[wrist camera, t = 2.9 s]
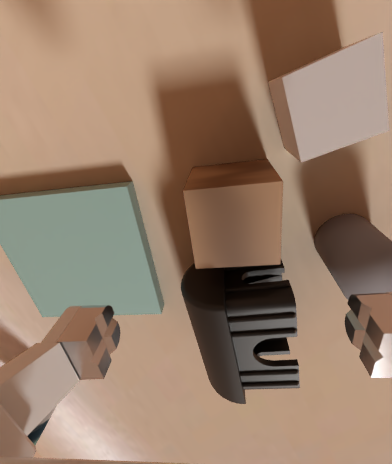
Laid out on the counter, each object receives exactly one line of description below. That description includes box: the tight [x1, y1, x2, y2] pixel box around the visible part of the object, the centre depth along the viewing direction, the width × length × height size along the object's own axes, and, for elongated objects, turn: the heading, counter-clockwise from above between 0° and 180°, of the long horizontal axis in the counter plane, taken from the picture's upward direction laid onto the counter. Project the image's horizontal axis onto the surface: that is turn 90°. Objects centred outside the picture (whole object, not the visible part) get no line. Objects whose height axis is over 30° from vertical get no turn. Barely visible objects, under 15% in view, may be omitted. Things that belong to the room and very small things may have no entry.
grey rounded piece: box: [314, 214, 392, 300], centre depth 17 cm, size 4×4×5 cm
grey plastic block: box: [268, 32, 389, 162], centre depth 13 cm, size 4×4×4 cm
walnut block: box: [183, 159, 283, 269], centre depth 16 cm, size 5×5×5 cm
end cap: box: [181, 260, 300, 404], centre depth 19 cm, size 10×7×7 cm
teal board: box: [0, 181, 164, 317], centre depth 21 cm, size 12×12×1 cm
